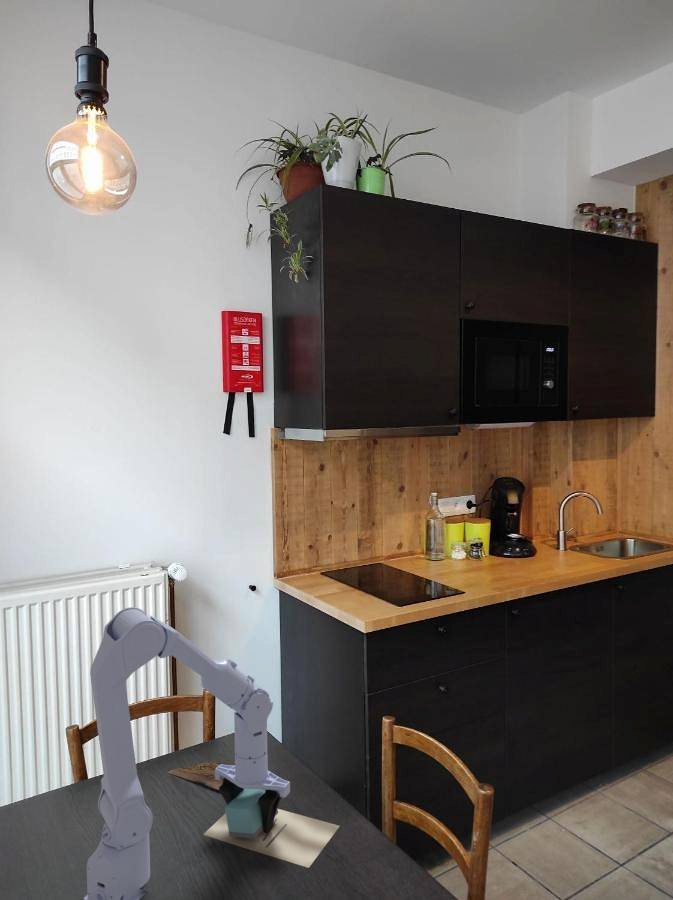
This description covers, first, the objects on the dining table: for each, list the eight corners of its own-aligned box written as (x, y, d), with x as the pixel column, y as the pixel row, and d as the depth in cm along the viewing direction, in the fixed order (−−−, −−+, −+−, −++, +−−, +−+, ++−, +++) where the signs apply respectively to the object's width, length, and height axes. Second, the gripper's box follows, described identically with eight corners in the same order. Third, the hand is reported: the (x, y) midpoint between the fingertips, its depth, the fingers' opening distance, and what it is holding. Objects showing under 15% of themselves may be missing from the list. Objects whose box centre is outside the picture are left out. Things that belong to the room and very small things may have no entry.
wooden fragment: (293, 774, 140) (293, 770, 140) (272, 804, 129) (272, 799, 129) (185, 757, 148) (184, 753, 148) (157, 784, 137) (157, 779, 137)
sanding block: (254, 838, 114) (249, 809, 114) (229, 836, 116) (224, 807, 116) (278, 812, 121) (273, 785, 121) (254, 810, 124) (249, 784, 124)
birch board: (308, 876, 109) (308, 867, 109) (203, 842, 118) (203, 834, 118) (339, 834, 120) (339, 825, 120) (241, 805, 129) (240, 798, 128)
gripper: (298, 749, 119) (299, 822, 120) (229, 733, 125) (231, 803, 126) (277, 768, 112) (279, 846, 113) (207, 750, 119) (209, 824, 119)
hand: (252, 825), depth 119 cm, fingers closed on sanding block, 6 cm apart
